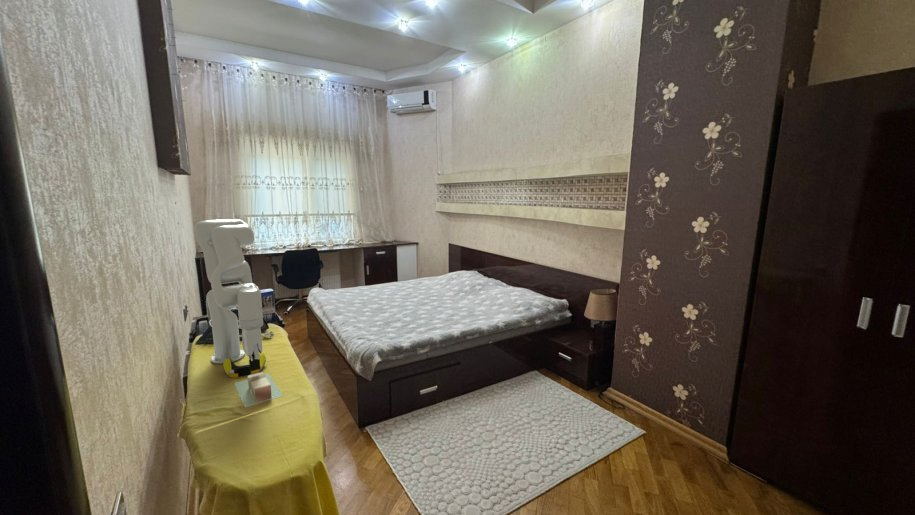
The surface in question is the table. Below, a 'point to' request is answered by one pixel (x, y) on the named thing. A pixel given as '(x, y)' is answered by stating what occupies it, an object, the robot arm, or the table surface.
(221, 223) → the robot arm
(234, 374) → the gaming controller
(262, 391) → the birch pillar
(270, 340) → the table surface
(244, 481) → the table surface
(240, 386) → the sage mat
